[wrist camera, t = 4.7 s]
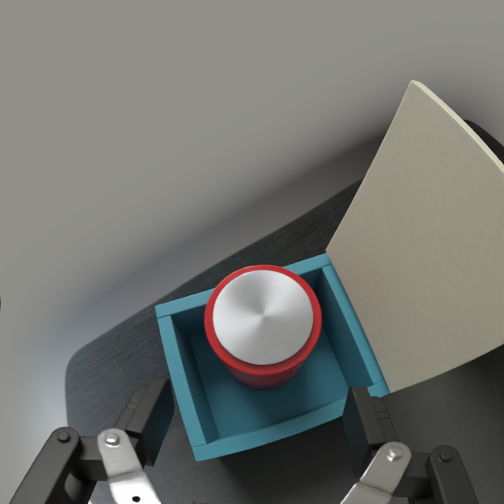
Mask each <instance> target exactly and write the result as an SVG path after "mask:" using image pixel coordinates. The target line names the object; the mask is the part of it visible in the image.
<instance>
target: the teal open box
mask: <svg viewBox="0 0 504 504" xmlns="http://www.w3.org/2000/svg"><path fill="white" fill-rule="evenodd" d="M282 268H284V269H287V270H289V271H291V272H293V273H295V274H297V275H298V276H300V277H301V278H302V279H303V280H304V281H305V282H306V283H307V284H308V285H309V286H310V287H311V289H312V290H313V291H314V293H315V295H316V297H317V299H318V302H319V304H320V308H321V314H322V326H321V331H320V335H319V338H318V341H317V343H316V345H315V347H314V348H313V350H312V351H311V353H310V354H309V356H308V357H307V359H306V360H305V361H304V363H303V364H302V366H301V367H300V369H299V370H298V371H297V373H296V374H295V376H294V377H293V378H292V379H291V380H290V381H289V382H288V383H286V384H285V385H283V386H282V387H280V388H277V389H274V390H270V391H257V390H253V389H250V388H247V387H245V386H243V385H242V384H241V383H239V382H238V381H237V380H236V379H235V378H234V377H233V375H232V374H231V373H230V371H229V370H228V369H227V368H226V366H225V365H224V364H223V362H222V361H221V360H220V358H219V357H218V356H217V354H216V353H215V351H214V350H213V349H212V347H211V345H210V343H209V341H208V338H207V335H206V331H205V324H204V317H205V310H206V305H207V303H208V300H209V298H210V296H211V294H212V292H213V291H214V289H211V290H208V291H205V292H201V293H198V294H195V295H191V296H188V297H185V298H181V299H178V300H174V301H171V302H168V303H164V304H161V305H157V306H155V310H156V315H157V318H158V325H159V329H160V334H161V338H162V343H163V347H164V351H165V356H166V360H167V364H168V368H169V372H170V376H171V379H172V383H173V387H174V391H175V394H176V398H177V401H178V405H179V408H180V412H181V415H182V418H183V422H184V425H185V428H186V431H187V435H188V438H189V441H190V444H191V447H193V448H192V450H193V453H194V456H195V459H196V461H197V462H199V461H204V460H208V459H213V458H217V457H221V456H225V455H229V454H233V453H237V452H240V451H244V450H248V449H251V448H255V447H258V446H261V445H265V444H268V443H271V442H274V441H277V440H280V439H283V438H286V437H289V436H292V435H295V434H297V433H300V432H303V431H305V430H308V429H311V428H313V427H316V426H318V425H321V424H323V423H326V422H328V421H331V420H333V419H336V418H338V417H340V416H343V410H344V406H345V402H346V398H347V394H348V390H349V388H350V387H357V386H366V387H367V388H368V391H369V394H370V396H378V397H379V398H381V397H383V396H385V395H387V394H389V393H390V390H389V388H388V385H387V383H386V381H385V378H384V376H383V373H382V371H381V369H380V366H379V364H378V362H377V359H376V357H375V355H374V352H373V350H372V348H371V345H370V343H369V341H368V339H367V336H366V334H365V332H364V330H363V327H362V325H361V323H360V321H359V319H358V316H357V314H356V312H355V310H354V308H353V306H352V303H351V301H350V299H349V297H348V295H347V293H346V291H345V289H344V287H343V285H342V282H341V280H340V278H339V276H338V274H337V272H336V270H335V268H334V266H333V264H332V262H331V260H330V258H329V256H328V254H327V253H325V254H322V255H319V256H316V257H313V258H310V259H307V260H304V261H301V262H298V263H295V264H291V265H288V266H285V267H282Z"/></svg>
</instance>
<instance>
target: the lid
mask: <svg viewBox="0 0 504 504" xmlns="http://www.w3.org/2000/svg"><path fill="white" fill-rule="evenodd" d="M326 252H327V254H328V256H329V258H330V260H331V262H332V264H333V266H334V268H335V270H336V272H337V274H338V276H339V278H340V280H341V282H342V285H343V287H344V289H345V291H346V293H347V295H348V297H349V299H350V301H351V303H352V306H353V308H354V310H355V312H356V314H357V316H358V319H359V321H360V323H361V325H362V327H363V330H364V332H365V334H366V336H367V339H368V341H369V343H370V345H371V348H372V350H373V352H374V355H375V357H376V359H377V362H378V364H379V366H380V369H381V371H382V373H383V376H384V378H385V381H386V383H387V385H388V388H389V390H390V393H392V392H395V391H398V390H401V389H404V388H407V387H409V386H412V385H415V384H417V383H420V382H423V381H425V380H428V379H430V378H433V377H435V376H438V375H440V374H442V373H445V372H447V371H449V370H452V369H454V368H456V367H458V366H461V365H463V364H465V363H467V362H469V361H471V360H474V359H476V358H478V357H480V356H482V355H484V354H486V353H488V352H490V351H492V350H493V349H495V348H497V347H499V346H501V345H503V344H504V165H503V164H502V163H501V161H500V160H499V159H498V158H497V157H496V155H495V154H494V153H493V152H492V151H491V150H490V149H489V147H488V146H487V145H486V144H485V143H484V142H483V141H482V140H481V139H480V138H479V136H478V135H477V134H476V133H475V132H474V131H473V130H472V129H471V128H470V127H469V126H468V125H467V124H466V123H465V122H464V121H463V120H462V119H461V118H460V117H459V116H458V115H457V114H456V113H455V112H454V111H452V109H450V108H449V107H448V106H447V105H446V104H445V103H444V102H443V101H442V100H441V99H439V98H438V97H437V96H436V95H435V94H434V93H433V92H432V91H430V90H429V89H428V88H427V87H426V86H424V85H423V84H422V83H421V82H417V81H413V80H411V82H410V84H409V86H408V89H407V91H406V93H405V95H404V97H403V100H402V102H401V104H400V106H399V108H398V111H397V113H396V115H395V117H394V119H393V121H392V123H391V125H390V128H389V130H388V132H387V134H386V136H385V138H384V140H383V142H382V144H381V146H380V148H379V150H378V152H377V154H376V156H375V158H374V161H373V162H372V164H371V166H370V168H369V170H368V172H367V174H366V176H365V178H364V180H363V182H362V184H361V186H360V188H359V190H358V192H357V193H356V195H355V197H354V199H353V201H352V203H351V205H350V207H349V209H348V210H347V212H346V214H345V216H344V218H343V220H342V221H341V223H340V225H339V227H338V229H337V231H336V232H335V234H334V236H333V238H332V240H331V241H330V243H329V245H328V247H327V248H326Z"/></svg>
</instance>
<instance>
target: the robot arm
mask: <svg viewBox="0 0 504 504" xmlns="http://www.w3.org/2000/svg"><path fill="white" fill-rule="evenodd" d="M173 414H174V400H173V395H172V389H171V383H170V380H169V379H163V378H156V377H153V378H152V379H151V381H150V383H149V384H148V386H147V387H145V386H141V387H140V388H138V389H137V390H136V391H134V392H133V394H132V396H131V397H130V399H129V401H128V402H127V404H126V407H125V408H124V409H123V411H122V413H121V414H120V416H119V418H118V420H117V421H116V423H115V425H114V427H113V428H111V429H107V430H104V431H102V432H101V433H100V434H99V435H98V436H97V437H87V436H79V434H78V432H77V431H76V430H75V429H73V428H71V427H61V428H58V429H56V430H54V431H53V432H52V434H51V435H50V437H49V438H48V440H47V441H46V443H45V444H44V446H43V448H42V449H41V451H40V453H39V454H38V456H37V457H36V459H35V461H34V462H33V464H32V466H31V467H30V469H29V471H28V472H27V474H26V475H25V477H24V479H23V481H22V482H21V484H20V486H19V487H18V489H17V491H16V492H15V494H14V496H13V498H12V499H11V501H10V503H9V504H88V502H89V499H90V497H91V495H92V492H93V490H94V487H95V485H96V483H97V481H108V484H109V487H110V489H111V492H112V494H113V497H114V500H115V502H116V504H161V502H160V500H159V498H158V497H157V495H156V493H155V491H154V489H153V487H152V485H151V483H150V481H149V479H148V477H147V475H146V473H145V471H144V466H145V465H147V466H152V467H153V466H154V463H155V461H156V458H157V456H158V453H159V450H160V448H161V445H162V443H163V440H164V437H165V435H166V432H167V430H168V427H169V425H170V422H171V420H172V417H173ZM343 425H344V430H345V434H346V438H347V443H348V448H349V452H350V457H351V462H352V466H353V471H354V476H355V477H361V478H360V480H359V481H357V482H356V483H355V485H354V486H353V487H352V489H351V490H350V491H349V493H348V494H347V495H346V497H345V498H344V499H343V501H342V502H341V503H340V504H388V502H389V501H390V499H391V497H392V496H396V497H408V501H409V504H479V502H478V500H477V497H476V494H475V492H474V489H473V486H472V484H471V481H470V479H469V476H468V474H467V471H466V469H465V467H464V464H463V462H462V459H461V457H460V455H459V453H458V451H457V450H456V449H455V448H453V447H451V446H447V445H441V446H438V447H436V448H434V449H433V450H432V452H431V453H417V452H412V451H411V450H410V449H409V448H408V446H406V445H405V444H403V443H400V442H399V439H398V436H397V434H396V431H395V429H394V426H393V424H392V421H391V419H390V416H389V414H388V412H387V409H386V406H385V404H384V402H383V401H382V400H381V399H380V398H379V397H378V396H370V394H369V391H368V388H367V387H366V386H357V387H350V388H349V390H348V394H347V398H346V402H345V406H344V410H343ZM193 504H208V503H201V502H194V501H193Z"/></svg>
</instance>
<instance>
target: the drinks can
mask: <svg viewBox="0 0 504 504" xmlns="http://www.w3.org/2000/svg"><path fill="white" fill-rule="evenodd" d="M204 324H205V331H206V335H207V338H208V341H209V343H210V345H211V347H212V349H213V350H214V351H215V353H216V354H217V356H218V357H219V358H220V360H221V361H222V362H223V364H224V365H225V366H226V368H227V369H228V370H229V371H230V373H231V374H232V375H233V377H234V378H235V379H236V380H237V381H238V382H239V383H241V384H242V385H243V386H245V387H247V388H250V389H253V390H257V391H270V390H274V389H277V388H280V387H282V386H283V385H285V384H286V383H288V382H289V381H290V380H291V379H292V378H293V377H294V376H295V374H296V373H297V371H298V370H299V369H300V367H301V366H302V364H303V363H304V361H305V360H306V359H307V357H308V356H309V354H310V353H311V351H312V350H313V348H314V347H315V345H316V343H317V341H318V338H319V335H320V331H321V326H322V314H321V308H320V304H319V302H318V299H317V297H316V295H315V293H314V291H313V290H312V289H311V287H310V286H309V285H308V284H307V283H306V282H305V281H304V280H303V279H302V278H301V277H300V276H298V275H297V274H295V273H293V272H291V271H289V270H287V269H284V268H282V267H278V266H273V265H254V266H249V267H245V268H242V269H240V270H237V271H235V272H233V273H232V274H230V275H229V276H227V277H226V278H225V279H224V280H222V281H221V282H220V283H219V284H218V286H217V287H216V288H215V289H214V291H213V292H212V294H211V296H210V298H209V300H208V303H207V305H206V310H205V317H204Z"/></svg>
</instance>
